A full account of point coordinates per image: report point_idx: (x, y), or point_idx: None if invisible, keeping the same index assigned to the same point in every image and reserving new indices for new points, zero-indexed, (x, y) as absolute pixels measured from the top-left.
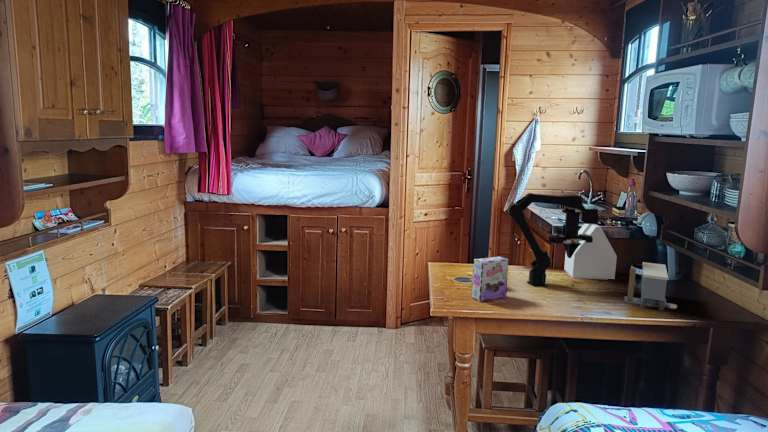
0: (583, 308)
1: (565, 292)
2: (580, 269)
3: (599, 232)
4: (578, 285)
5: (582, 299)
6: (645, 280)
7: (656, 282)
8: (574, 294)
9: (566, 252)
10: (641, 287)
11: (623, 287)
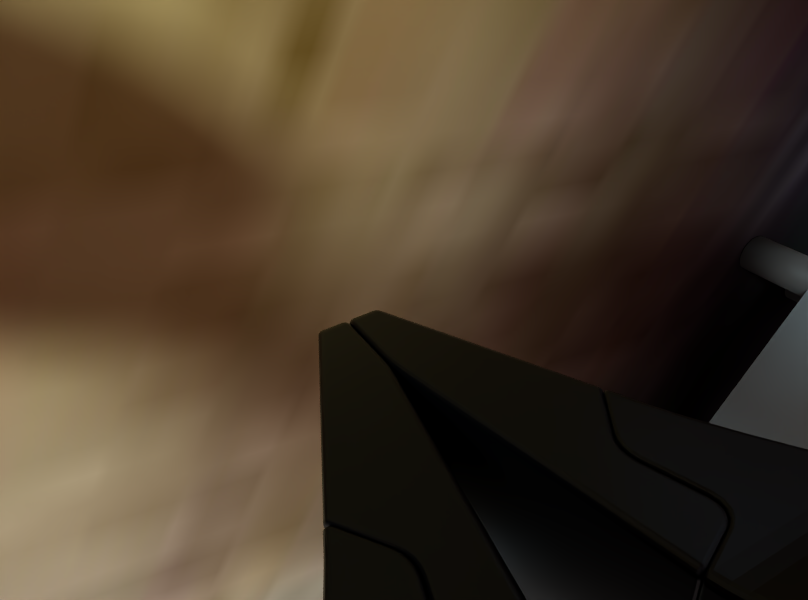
0: None
1: (99, 385)
2: None
3: None
4: (379, 54)
5: (227, 532)
6: None
7: None
8: (194, 422)
9: (323, 469)
10: (733, 410)
11: (758, 98)
